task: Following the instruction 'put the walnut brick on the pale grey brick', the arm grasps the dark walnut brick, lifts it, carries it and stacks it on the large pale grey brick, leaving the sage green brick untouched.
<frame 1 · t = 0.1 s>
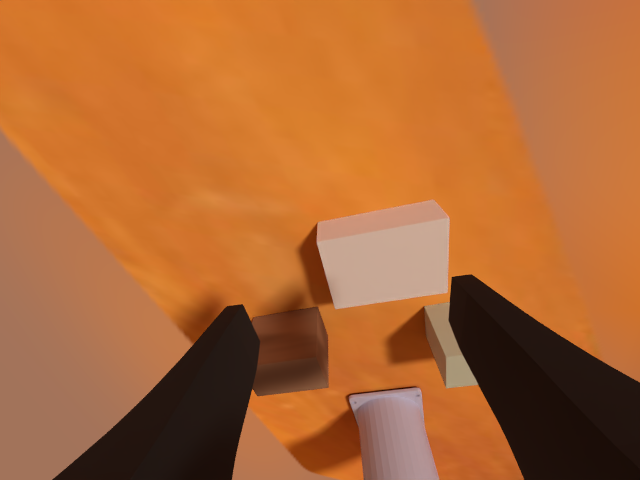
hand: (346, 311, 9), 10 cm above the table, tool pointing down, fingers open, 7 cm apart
pale grey brick: (378, 244, 20), on the table
walnut brick: (291, 326, 25), on the table
sage brick: (459, 315, 24), on the table
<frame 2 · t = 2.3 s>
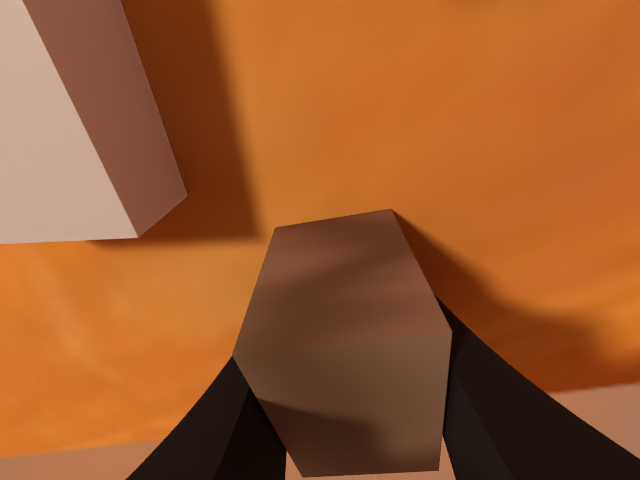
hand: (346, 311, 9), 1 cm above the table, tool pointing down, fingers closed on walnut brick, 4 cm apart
pale grey brick: (36, 57, 7), on the table
walnut brick: (344, 284, 11), on the table, touching gripper
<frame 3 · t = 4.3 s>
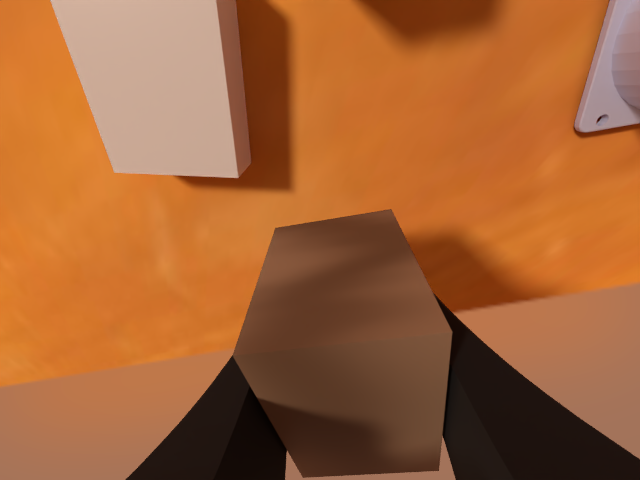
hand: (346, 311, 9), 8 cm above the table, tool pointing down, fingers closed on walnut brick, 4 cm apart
pale grey brick: (185, 78, 13), on the table
walnut brick: (344, 285, 11), point 7 cm above the table, touching gripper
when the fingers open (5 cm above the table, at t = 6.6 s): walnut brick drops 1 cm, resting on pale grey brick.
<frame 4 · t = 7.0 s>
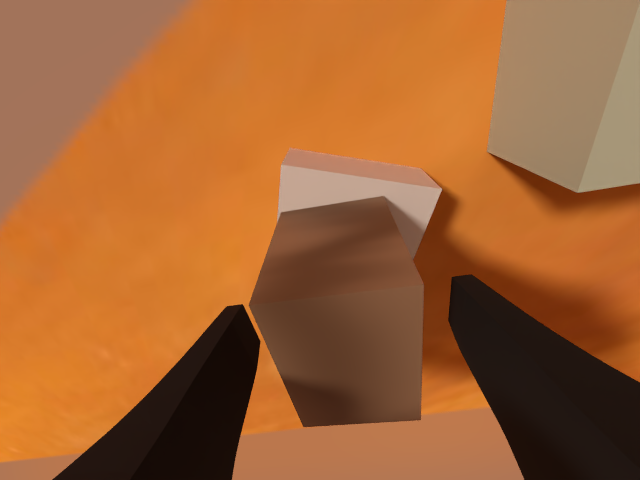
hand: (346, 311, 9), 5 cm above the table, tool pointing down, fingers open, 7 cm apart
pale grey brick: (339, 230, 14), on the table, touching walnut brick
walnut brick: (341, 265, 12), point 3 cm above the table, touching pale grey brick
sage brick: (552, 60, 10), on the table
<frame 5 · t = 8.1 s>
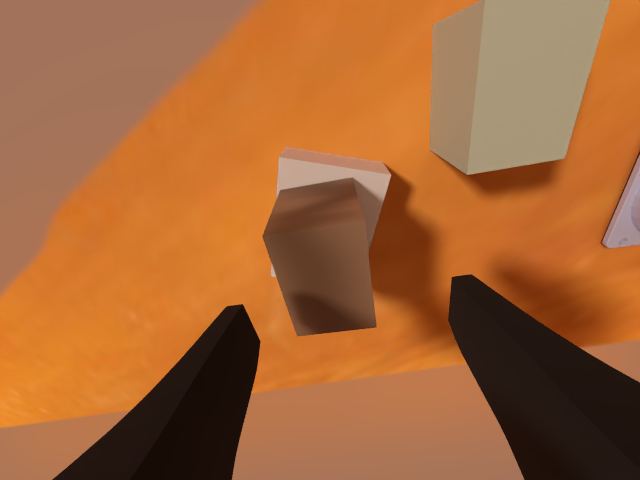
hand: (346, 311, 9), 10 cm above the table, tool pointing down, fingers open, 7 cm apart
pale grey brick: (324, 210, 19), on the table, touching walnut brick
walnut brick: (325, 230, 16), point 3 cm above the table, touching pale grey brick
sage brick: (468, 85, 14), on the table
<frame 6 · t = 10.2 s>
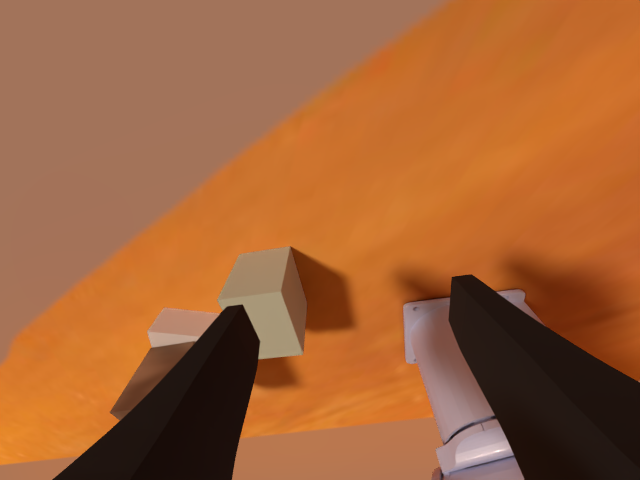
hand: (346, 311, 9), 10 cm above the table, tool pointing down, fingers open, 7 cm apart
pale grey brick: (204, 337, 26), on the table, touching walnut brick
walnut brick: (189, 365, 23), point 3 cm above the table, touching pale grey brick
sage brick: (275, 279, 22), on the table
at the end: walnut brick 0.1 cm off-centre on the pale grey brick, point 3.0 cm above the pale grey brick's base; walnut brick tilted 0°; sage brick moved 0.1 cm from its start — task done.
